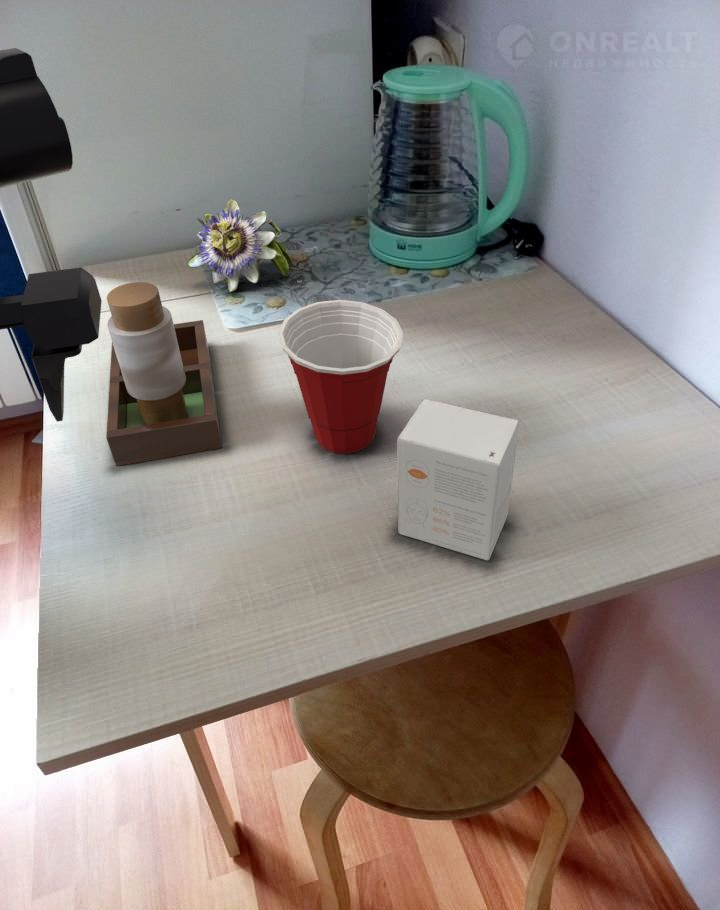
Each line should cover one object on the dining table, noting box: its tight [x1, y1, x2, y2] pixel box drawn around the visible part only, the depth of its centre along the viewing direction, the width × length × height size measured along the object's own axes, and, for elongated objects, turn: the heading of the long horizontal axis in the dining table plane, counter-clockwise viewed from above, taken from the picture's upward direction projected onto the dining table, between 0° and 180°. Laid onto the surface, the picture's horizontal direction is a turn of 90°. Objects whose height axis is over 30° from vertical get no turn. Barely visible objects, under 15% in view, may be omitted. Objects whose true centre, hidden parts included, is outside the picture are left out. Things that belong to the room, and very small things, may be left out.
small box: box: [396, 398, 520, 561], centre depth 56 cm, size 8×6×10 cm
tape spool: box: [106, 281, 189, 425], centre depth 66 cm, size 6×6×14 cm
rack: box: [105, 319, 223, 467], centre depth 73 cm, size 19×10×4 cm, turn 13°
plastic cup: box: [278, 299, 404, 455], centre depth 65 cm, size 11×11×12 cm
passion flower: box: [186, 198, 294, 293], centre depth 93 cm, size 11×11×12 cm
